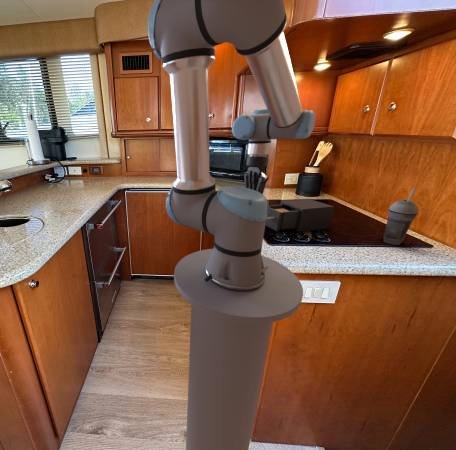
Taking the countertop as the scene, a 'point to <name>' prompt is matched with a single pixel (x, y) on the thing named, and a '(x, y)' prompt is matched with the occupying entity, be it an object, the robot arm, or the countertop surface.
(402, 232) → the beverage cup
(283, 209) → the block
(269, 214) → the basket
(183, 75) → the robot arm
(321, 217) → the dark brown box
